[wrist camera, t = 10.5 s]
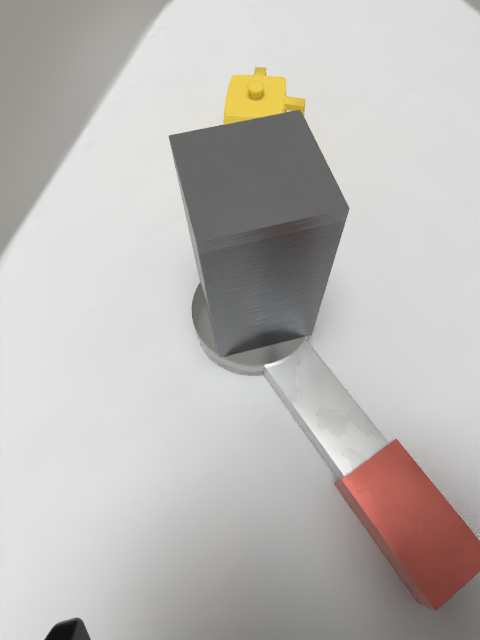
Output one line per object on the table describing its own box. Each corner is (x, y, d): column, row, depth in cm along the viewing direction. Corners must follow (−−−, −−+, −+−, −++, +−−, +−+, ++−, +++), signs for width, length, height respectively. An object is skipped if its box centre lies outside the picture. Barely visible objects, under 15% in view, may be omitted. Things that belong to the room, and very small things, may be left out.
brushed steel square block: (311, 335, 22) (349, 208, 14) (219, 358, 22) (196, 242, 13) (283, 259, 25) (300, 109, 16) (199, 279, 24) (168, 135, 15)
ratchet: (497, 532, 20) (555, 533, 16) (387, 629, 18) (423, 655, 14) (267, 256, 27) (269, 213, 24) (175, 308, 26) (162, 270, 22)
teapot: (297, 191, 30) (305, 130, 25) (219, 186, 30) (213, 125, 26) (302, 119, 34) (310, 54, 29) (232, 115, 34) (229, 50, 29)
